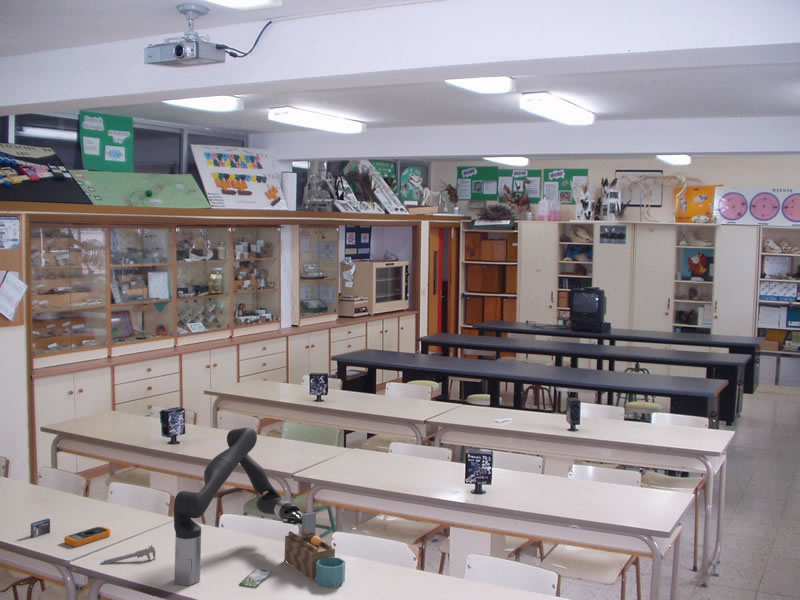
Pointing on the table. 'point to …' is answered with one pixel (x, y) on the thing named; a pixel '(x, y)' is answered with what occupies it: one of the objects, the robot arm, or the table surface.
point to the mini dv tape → (40, 528)
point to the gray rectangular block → (308, 526)
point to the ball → (315, 540)
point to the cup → (330, 571)
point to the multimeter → (87, 536)
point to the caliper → (133, 555)
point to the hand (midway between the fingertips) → (307, 523)
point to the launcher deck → (305, 553)
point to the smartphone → (255, 578)
